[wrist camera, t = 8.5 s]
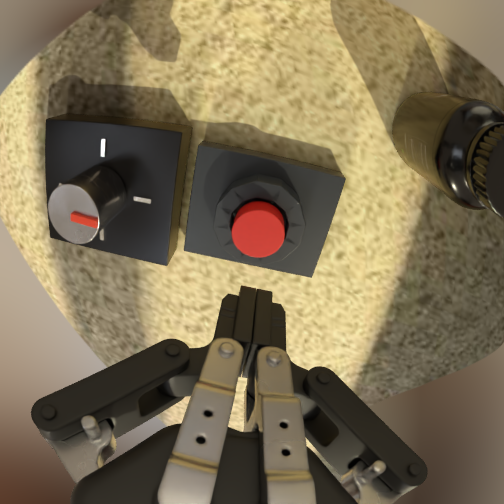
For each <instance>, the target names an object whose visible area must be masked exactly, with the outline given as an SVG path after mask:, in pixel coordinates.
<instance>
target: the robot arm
mask: <svg viewBox="0 0 504 504" xmlns="http://www.w3.org/2000/svg"><path fill="white" fill-rule="evenodd" d="M285 320H286V318H285V311H284V309H283V307H282V305H281V304H277V303H272V292H271V291H266V290H261V289H257V290H256V288H251V287H246V286H241V288H240V292H239V296H237V295H232V294H227V295H226V296H225V297H224V298H223V299H222V303H221V308H220V312H219V316H218V321H217V325H216V330H215V334H214V338H213V340H212V342H211V343H210V344H208V345H207V346H205V347H201V348H189V347H188V346H187V345H186V344H185V343H184V342H182V341H180V340H177V339H166V340H163V341H161V342H159V343H157V344H155V345H153V346H151V347H149V348H147V349H145V350H143V351H141V352H139V353H137V354H135V355H133V356H131V357H128V358H126V359H124V360H122V361H120V362H118V363H116V364H114V365H112V366H110V367H108V368H106V369H104V370H101V371H99V372H97V373H95V374H93V375H91V376H89V377H87V378H85V379H83V380H80V381H78V382H76V383H74V384H72V385H69V386H67V387H65V388H63V389H61V390H59V391H56V392H54V393H52V394H50V395H47V396H45V397H43V398H41V399H39V400H38V401H36V403H35V404H34V405H33V407H32V411H31V416H32V420H33V421H34V423H35V424H36V426H37V428H38V429H39V431H40V433H41V435H42V436H43V437H44V439H45V440H46V441H47V443H48V444H49V445H50V446H51V448H52V449H54V450H55V452H56V453H57V455H58V457H59V458H60V460H61V462H62V463H63V465H64V466H65V468H66V469H67V471H68V473H69V474H70V475H71V477H72V479H73V480H74V482H75V483H76V486H75V487H74V489H73V492H72V495H71V504H393V503H394V502H395V501H396V500H397V499H398V498H399V497H400V496H402V495H403V494H405V493H407V492H409V491H410V490H412V489H414V488H415V487H417V486H419V485H420V484H422V483H423V482H424V481H425V479H426V477H427V467H426V464H425V463H424V461H423V460H422V459H421V458H420V457H419V456H418V455H417V454H416V453H414V451H412V450H411V449H410V448H409V447H408V446H407V445H406V444H405V443H404V442H403V441H402V440H401V439H400V438H399V437H398V436H397V435H396V434H395V433H394V432H393V431H392V430H391V429H390V428H389V427H388V426H387V425H386V424H385V423H384V422H383V421H382V420H381V419H380V418H379V417H378V416H377V415H376V414H375V413H374V412H373V411H372V410H371V409H370V408H369V407H368V406H367V405H366V404H365V403H364V402H363V401H362V400H361V399H360V398H359V397H358V396H357V395H356V394H355V393H354V392H353V391H352V390H351V389H350V388H349V387H348V386H347V385H346V384H345V383H344V382H343V381H342V380H341V379H340V378H339V377H338V376H337V375H336V374H335V373H334V372H333V371H331V370H330V369H328V368H325V367H320V366H319V367H314V368H312V369H310V370H309V371H308V370H306V369H304V368H301V367H299V366H297V365H295V364H294V363H293V362H292V361H291V360H290V358H289V356H288V354H287V353H286V328H285V327H286V322H285ZM242 371H243V373H242ZM241 374H242V377H244V378H248V379H247V386H246V389H245V393H244V431H243V432H240V431H237V430H235V429H232V428H230V427H228V423H229V419H230V415H231V410H232V406H233V402H234V397H235V392H236V385H237V381H238V377H241ZM185 396H191V398H190V401H189V404H188V406H187V409H186V412H185V415H184V418H183V421H182V423H181V424H175V425H171V426H168V427H165V428H163V429H161V430H160V431H158V432H156V433H155V434H153V435H152V436H150V437H149V438H147V439H146V440H144V441H143V442H141V443H139V444H138V445H136V446H135V447H133V448H132V449H130V450H129V451H127V452H125V453H124V454H122V455H120V456H119V457H117V458H116V459H114V460H112V461H111V462H109V463H108V464H106V465H104V463H105V461H106V460H107V459H108V458H109V457H111V456H112V455H113V454H114V452H115V450H116V440H115V439H116V438H118V437H120V436H122V435H123V434H125V433H127V432H129V431H130V430H132V429H134V428H136V427H137V426H139V425H141V424H143V423H144V422H146V421H148V420H149V419H151V418H153V417H155V416H156V415H158V414H160V413H161V412H163V411H165V410H166V409H168V408H169V407H171V406H173V405H174V404H176V403H178V402H179V401H181V400H182V399H183V398H184V397H185ZM305 437H306V438H307V439H308V440H309V442H310V443H311V444H312V445H313V446H314V447H315V448H316V449H317V451H318V452H319V453H320V454H321V455H322V456H323V457H324V458H325V459H326V461H327V462H328V463H329V464H330V465H331V466H332V467H333V468H334V469H335V470H336V471H337V473H338V474H339V475H340V476H341V477H342V478H341V483H340V482H339V481H338V480H337V479H336V478H335V477H334V475H333V474H332V473H331V472H330V471H329V470H328V468H327V467H326V466H325V465H324V464H323V463H322V461H321V460H320V459H319V458H318V457H317V455H316V454H315V453H314V452H313V451H312V450H311V449H309V448H308V447H307V446H306V439H305Z"/></svg>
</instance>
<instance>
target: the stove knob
mask: <svg viewBox="0 0 504 504" xmlns="http://www.w3.org/2000/svg"><path fill="white" fill-rule="evenodd" d="M125 200H126V190H125V186H124V183H123V181H122V179H121V178H120V176H119V175H118V174H117V173H116V172H115V171H114V170H112V169H111V168H109V167H106V166H101V165H97V166H93V167H90V168H88V169H87V170H85V171H83V172H82V173H80V174H78V175H76V176H75V177H73V178H71V179H70V180H68V181H66V182H65V183H63V184H62V185H60V186H58V187H57V188H56V189H55V190H54V191H53V192H52V194H51V196H50V199H49V203H48V212H49V217H50V220H51V222H52V224H53V226H54V228H55V229H56V231H57V232H58V233H59V234H60V235H61V236H62V237H63V238H64V239H66V240H68V241H69V242H72V243H76V244H84V243H87V242H89V241H91V240H92V239H93V238H94V237H95V236H96V235H97V234H98V233H99V232H100V231H101V230H102V229H103V228H104V227H105V226H106V225H107V224H108V223H109V222H110V221H111V220H112V219H113V218H114V217H115V216H116V215H117V214H118V213H119V212H120V211H121V210H122V209H123V207H124V204H125Z"/></svg>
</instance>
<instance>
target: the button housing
mask: <svg viewBox="0 0 504 504" xmlns="http://www.w3.org/2000/svg"><path fill="white" fill-rule="evenodd" d="M345 179H346V178H345V177H344V175H343V174H342V173H341V172H338V171H335V170H331V169H327V168H323V167H320V166H316V165H312V164H308V163H304V162H300V161H296V160H292V159H288V158H284V157H279V156H275V155H271V154H266V153H262V152H257V151H252V150H248V149H243V148H238V147H233V146H228V145H222V144H217V143H212V142H206V141H203V142H202V143H200V144H199V145H198V151H197V157H196V164H195V170H194V177H193V184H192V191H191V198H190V205H189V213H188V221H187V229H186V237H185V246H184V251H187V252H192V253H197V254H201V255H206V256H211V257H215V258H220V259H225V260H229V261H234V262H239V263H244V264H248V265H253V266H258V267H263V268H267V269H272V270H277V271H282V272H287V273H292V274H296V275H301V276H306V277H311V278H312V276H313V273H314V270H315V267H316V265H317V262H318V259H319V256H320V254H321V251H322V248H323V245H324V242H325V239H326V237H327V234H328V231H329V228H330V225H331V222H332V219H333V216H334V213H335V210H336V207H337V204H338V201H339V198H340V195H341V192H342V189H343V186H344V183H345ZM253 201H264V202H268V203H270V204H272V205H274V206H275V207H276V208H277V209H278V210H279V211H280V212H281V214H282V216H283V219H284V228H285V238H284V241H283V244H282V246H281V247H280V248H279V249H278V250H277V251H276V252H275V253H273V254H271V255H269V256H266V257H252V256H248V255H246V254H244V253H243V252H241V251H240V250H239V249H238V248H237V247H236V245H235V244H234V242H233V239H232V227H233V223H234V220H235V216H236V214H237V212H238V211H239V209H240V208H241V207H242V206H244V205H245V204H247V203H250V202H253Z"/></svg>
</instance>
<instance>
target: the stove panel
mask: <svg viewBox="0 0 504 504" xmlns="http://www.w3.org/2000/svg"><path fill="white" fill-rule="evenodd" d="M191 133H192V127H191V126H185V125H178V124H171V123H164V122H156V121H148V120H139V119H130V118H120V117H109V116H96V115H80V114H63V115H60V116H56V117H52V118H49V119H46V135H45V170H46V194H47V209H48V203H49V199H50V196H51V194H52V192H53V191H54V190H55V189H56V188H57V187H58V186H60V185H62V184H63V183H65V182H66V181H68V180H70V179H71V178H73V177H75V176H76V175H78V174H80V173H82V172H83V171H85V170H87V169H88V168H90V167H93V166H97V165H101V166H106V167H109V168H111V169H112V170H114V171H115V172H116V173H117V174H118V175H119V176H120V178H121V179H122V181H123V183H124V186H125V190H126V200H125V204H124V207H123V209H122V210H121V211H120V212H119V213H118V214H117V215H116V216H115V217H114V218H113V219H112V220H111V221H110V222H109V223H108V224H107V225H106V226H105V227H104V228H103V229H102V230H101V231H100V232H99V233H98V234H97V235H96V236H95V237H94V238H93V239H92V240H91V241H89V242H87V243H84V244H77V245H81V246H85V247H89V248H93V249H97V250H101V251H105V252H110V253H114V254H118V255H122V256H126V257H130V258H135V259H139V260H143V261H147V262H152V263H156V264H161V265H165V266H167V265H168V264H169V262H170V260H171V258H172V256H173V254H174V252H175V250H176V249H177V239H178V230H179V220H180V212H181V203H182V195H183V187H184V180H185V173H186V166H187V159H188V152H189V145H190V139H191ZM48 220H49V230H50V237H51V238H54V239H58V240H62V241H65V242H69V241H68V240H66V239H64V238H63V237H62V236H61V235H60V234H59V233H58V232H57V231H56V229H55V228H54V226H53V224H52V222H51V220H50V217H49V212H48ZM69 243H72V242H69ZM73 244H76V243H73Z"/></svg>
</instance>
